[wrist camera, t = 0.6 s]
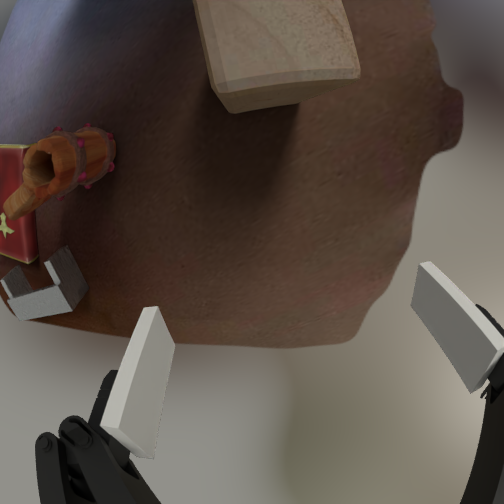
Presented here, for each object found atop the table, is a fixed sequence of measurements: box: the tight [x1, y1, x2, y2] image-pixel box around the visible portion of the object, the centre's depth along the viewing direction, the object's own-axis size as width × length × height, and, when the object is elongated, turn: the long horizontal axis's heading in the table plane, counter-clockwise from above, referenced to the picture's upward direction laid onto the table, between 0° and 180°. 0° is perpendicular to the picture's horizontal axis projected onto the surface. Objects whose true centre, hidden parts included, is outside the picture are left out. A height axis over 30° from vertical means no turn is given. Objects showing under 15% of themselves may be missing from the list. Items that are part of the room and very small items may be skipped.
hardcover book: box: [0, 143, 39, 264], centre depth 33 cm, size 12×21×4 cm, turn 166°
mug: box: [3, 123, 116, 220], centre depth 26 cm, size 15×8×15 cm, turn 117°
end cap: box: [0, 244, 89, 321], centre depth 38 cm, size 9×18×7 cm, turn 104°
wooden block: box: [193, 0, 361, 114], centre depth 21 cm, size 10×10×20 cm
